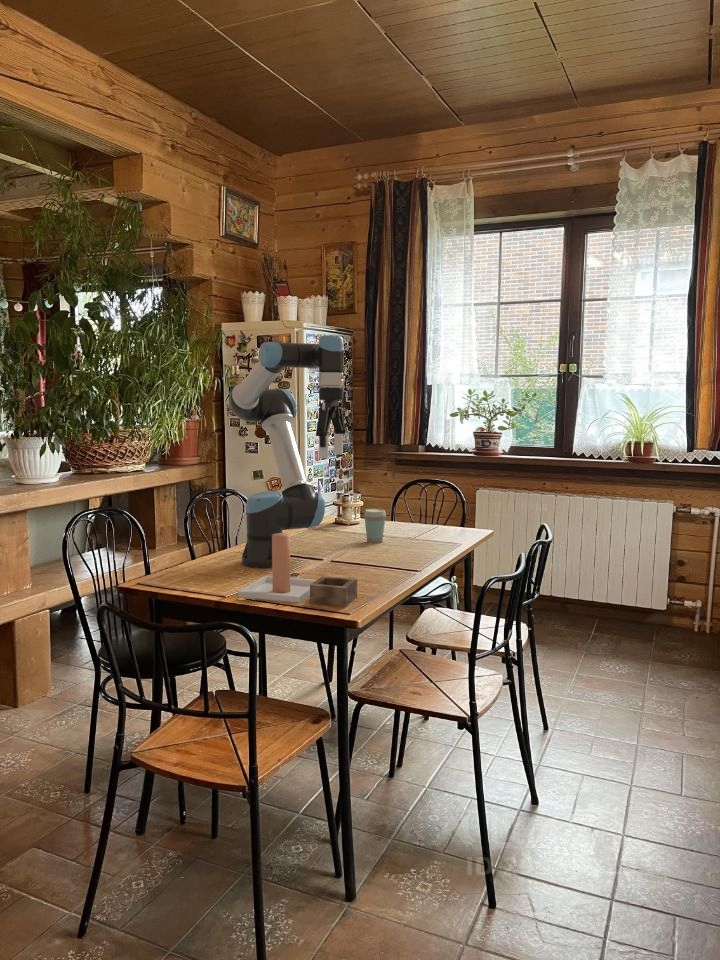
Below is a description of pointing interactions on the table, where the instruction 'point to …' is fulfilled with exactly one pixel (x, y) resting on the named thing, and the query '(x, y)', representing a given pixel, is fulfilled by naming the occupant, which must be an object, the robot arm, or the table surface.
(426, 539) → the table surface
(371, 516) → the coffee cup
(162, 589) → the table surface
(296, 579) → the tray
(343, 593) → the socket block
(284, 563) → the peg
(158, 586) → the table surface
